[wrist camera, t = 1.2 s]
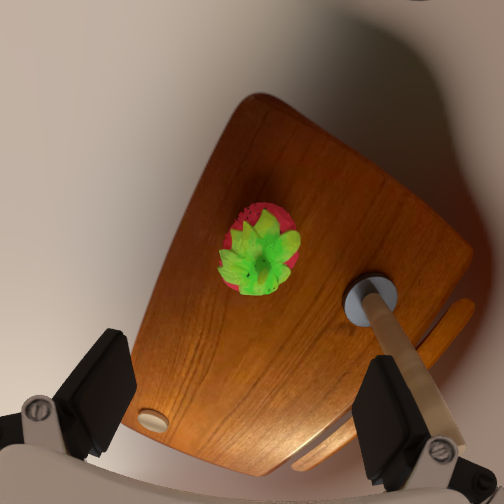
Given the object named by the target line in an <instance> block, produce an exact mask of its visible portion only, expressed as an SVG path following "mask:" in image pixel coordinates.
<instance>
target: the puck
mask: <svg viewBox="0 0 504 504" xmlns="http://www.w3.org/2000/svg"><path fill="white" fill-rule="evenodd" d="M138 421H139V422H140V423H141V425H143V426H144V427H145V428H147V429H149V430H151V431H154V432H165V431H166V430H167V429H168V426H169V421H168V420H167V418H166V417H165V416H163V415H162V414H160V413H158V412H156V411H153V410H148V409H145V410H142V411H140V413H139V415H138Z"/></svg>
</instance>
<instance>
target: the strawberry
mask: <svg viewBox="0 0 504 504" xmlns="http://www.w3.org/2000/svg"><path fill="white" fill-rule="evenodd" d="M229 229H230V230H229V232H228V233H226V235H225V238H226V239H225V240H224V242H223V245H224V246H223V248H222V250H219V252H220V256H221V260H220V261H219V262H220V265H219V267H218V268H217V269H218V270H219V272H220V274H221V275H222V281H225V283H226V284H227V286H228V287H231V288H233V289H235V290H236V291H239V292H240V294H244V295H263V294H270V293H272V292H274V291H276V290H277V288H278V286H279V284H280V283H282V282H285V281H286V279H287V278H288V276H289V275H290V273H291V272H290V269H291V268H292V267H294V265H295V263H296V261H297V259H298V257H299V255H298V251H299V247H300V237H301V236H300V234H299V233H298V232H297V229H296V225H295V221H293V220H292V218H291V217H290V215H289V213H287V212H286V211H285V210H284V208H283V207H282V208H281V207H279V206H277V205H274V203H265V202H262V203H259V202H258V203H256V204H255V203H254V204H252V203H251V205H250V206H249V207H248V208H244V212H241V213H240V214H239V217H238V219H235V223H234V224H233V225H231V227H230V228H229Z"/></svg>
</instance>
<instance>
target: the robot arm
mask: <svg viewBox="0 0 504 504" xmlns="http://www.w3.org/2000/svg"><path fill="white" fill-rule="evenodd" d="M136 389H137V383H136V379H135V375H134V370H133V366H132V361H131V356H130V352H129V346H128V341H127V337H126V336H125V335H123V332H122V331H120V330H115V329H110V328H108V329H106V331H105V332H104V333H103V334H102V335H101V336H100V338H99V339H98V340H97V341H96V343H95V344H94V345H93V346H92V348H91V349H90V350H89V351H88V353H87V354H86V355H85V356H84V358H83V359H82V360H81V361H80V363H79V364H78V365H77V366H76V368H75V369H74V370H73V371H72V373H71V374H70V376H69V377H68V378H67V379H66V381H65V382H64V383H63V384H62V386H61V387H60V388H59V390H58V391H57V392H56V394H55V395H54V396H53V398H52V399H51V398H49V397H47V396H44V395H36V396H32V397H30V398H29V399H27V400H26V401H25V402H24V404H23V406H22V411H21V412H20V413H16V414H11V415H6V416H1V417H0V504H504V488H503V487H502V486H500V487H499V488H498V487H497V480H496V477H495V474H494V473H493V472H492V471H490V470H489V469H487V468H484V467H482V466H479V465H477V464H475V463H472V462H470V461H468V460H466V459H463V458H461V457H459V456H458V453H459V450H458V446H457V444H456V443H455V442H454V441H453V440H452V439H451V438H449V437H448V436H444V435H436V436H433V437H432V436H431V434H430V432H429V430H428V427H427V425H426V423H425V421H424V418H423V416H422V414H421V412H420V410H419V408H418V405H417V403H416V401H415V399H414V397H413V395H412V393H411V391H410V389H409V388H408V386H407V384H406V382H405V380H404V378H403V376H402V374H401V372H400V370H399V368H398V366H397V364H396V362H395V360H394V358H393V357H392V355H377V356H376V357H375V359H372V360H371V362H370V364H369V367H368V370H367V372H366V375H365V377H364V380H363V382H362V384H361V387H360V389H359V391H358V394H357V396H356V398H355V401H354V403H353V405H352V415H353V419H354V423H355V427H356V431H357V436H358V440H359V444H360V448H361V453H362V457H363V461H364V466H365V471H366V475H367V478H368V479H369V480H371V481H372V485H373V486H374V485H380V484H384V488H385V491H384V492H383V493H381V494H375V495H368V496H362V497H353V498H345V499H334V500H320V501H294V502H293V501H292V502H291V501H289V502H287V501H254V500H242V499H231V498H223V497H214V496H208V495H202V494H196V493H190V492H185V491H180V490H175V489H171V488H166V487H162V486H158V485H154V484H150V483H147V482H143V481H140V480H136V479H133V478H130V477H126V476H123V475H120V474H117V473H114V472H111V471H108V470H106V469H103V468H100V467H97V466H95V465H92V464H89V463H87V461H86V458H87V456H88V454H91V455H93V456H96V457H98V458H99V457H100V455H101V453H102V452H106V451H107V449H108V447H109V445H110V443H111V441H112V438H113V436H114V434H115V432H116V430H117V428H118V426H119V424H120V422H121V420H122V418H123V416H124V414H125V412H126V410H127V408H128V406H129V404H130V402H131V400H132V398H133V396H134V394H135V392H136Z"/></svg>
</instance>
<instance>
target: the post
mask: <svg viewBox="0 0 504 504" xmlns="http://www.w3.org/2000/svg"><path fill="white" fill-rule="evenodd" d="M396 303H397V290H396V287H395V285H394V284H393V283H392V282H391V280H390V279H389V278H388V277H386V276H385V275H383V274H380V273H367V274H364V275H361V276H359V277H358V278H356V279H355V280H354V281H352V282H351V283H350V285H349V286H348V287H347V289H346V291H345V293H344V296H343V309H344V312H345V314H346V316H347V318H348V319H349V320H350V321H351V322H352V323H353V324H355V325H358V326H361V327H369V326H371V328H372V330H373V332H374V334H375V336H376V338H377V340H378V342H379V344H380V346H381V348H382V350H383V352H384V354H385V355H392V357H393V358H394V360H395V362H396V364H397V366H398V368H399V370H400V372H401V374H402V376H403V378H404V380H405V382H406V384H407V386H408V388H409V389H410V391H411V393H412V395H413V397H414V399H415V401H416V403H417V405H418V408H419V410H420V412H421V414H422V416H423V418H424V421H425V423H426V425H427V427H428V430H429V432H430V434H431V436H432V437H433V436H436V435H444V436H448V437H449V438H451V439H452V440H453V441H454V442H455V443H456V444H457V446H458V450H459V453H458V456H460V455H461V454H462V453H463V452H464V451H465V449H466V447H467V445H466V443H465V441H464V438H463V436H462V434H461V432H460V430H459V428H458V426H457V424H456V422H455V420H454V418H453V416H452V415H451V412H450V410H449V408H448V406H447V405H446V403H445V401H444V399H443V397H442V395H441V393H440V391H439V390H438V388H437V386H436V384H435V382H434V381H433V379H432V377H431V375H430V374H429V372H428V370H427V368H426V367H425V365H424V363H423V362H422V360H421V358H420V357H419V355H418V353H417V352H416V350H415V348H414V347H413V345H412V343H411V342H410V340H409V338H408V337H407V335H406V334H405V332H404V330H403V329H402V327H401V326H400V324H399V323H398V321H397V319H396V318H395V316H394V315H393V313H392V312H393V310H394V308H395V306H396Z"/></svg>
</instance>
